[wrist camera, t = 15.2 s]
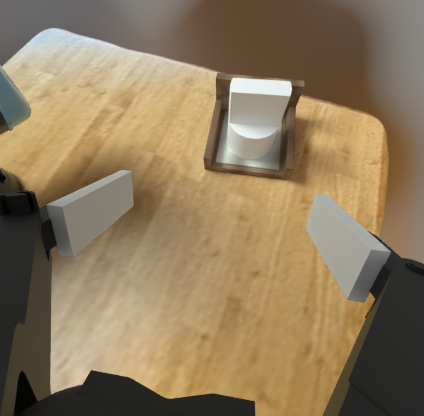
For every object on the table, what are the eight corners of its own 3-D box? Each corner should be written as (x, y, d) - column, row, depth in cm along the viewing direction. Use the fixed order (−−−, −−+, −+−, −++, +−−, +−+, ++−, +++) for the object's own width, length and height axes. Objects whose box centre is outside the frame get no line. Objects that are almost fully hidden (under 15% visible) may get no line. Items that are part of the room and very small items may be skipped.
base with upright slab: (224, 157, 41) (227, 107, 30) (229, 121, 44) (233, 64, 33) (271, 161, 40) (292, 112, 29) (273, 124, 43) (291, 67, 32)
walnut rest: (204, 169, 42) (201, 141, 34) (217, 108, 47) (217, 73, 40) (287, 179, 40) (303, 153, 33) (290, 115, 46) (304, 80, 38)
